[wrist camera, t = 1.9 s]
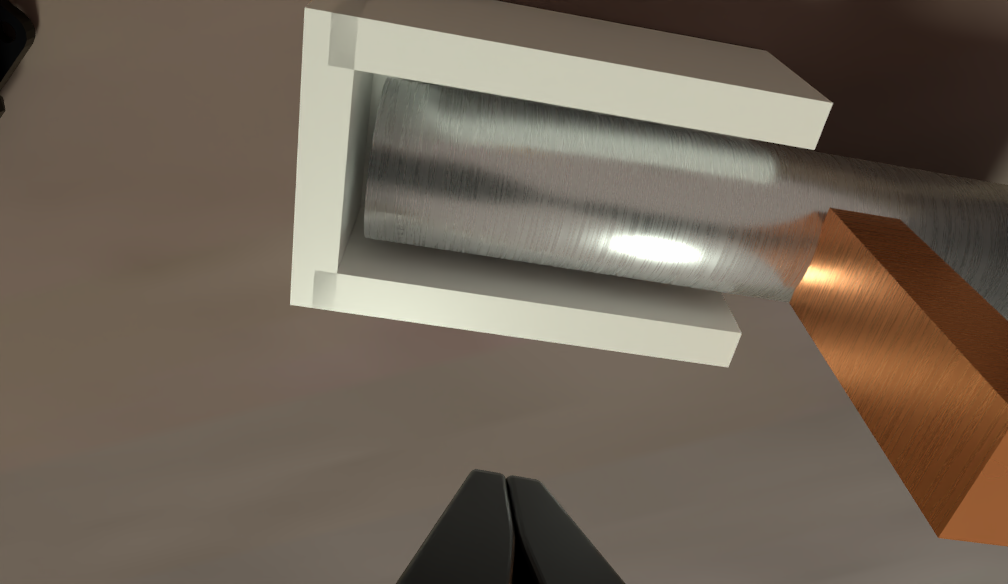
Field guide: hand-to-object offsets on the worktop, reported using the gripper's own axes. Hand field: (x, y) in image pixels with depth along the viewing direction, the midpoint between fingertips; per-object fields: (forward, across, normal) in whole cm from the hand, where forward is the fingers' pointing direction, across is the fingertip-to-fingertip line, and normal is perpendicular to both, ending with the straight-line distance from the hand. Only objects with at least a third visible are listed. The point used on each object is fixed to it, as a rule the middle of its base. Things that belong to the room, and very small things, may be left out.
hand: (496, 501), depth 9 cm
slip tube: (+12, +5, 0) cm, 13 cm away
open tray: (+13, +1, 0) cm, 13 cm away
